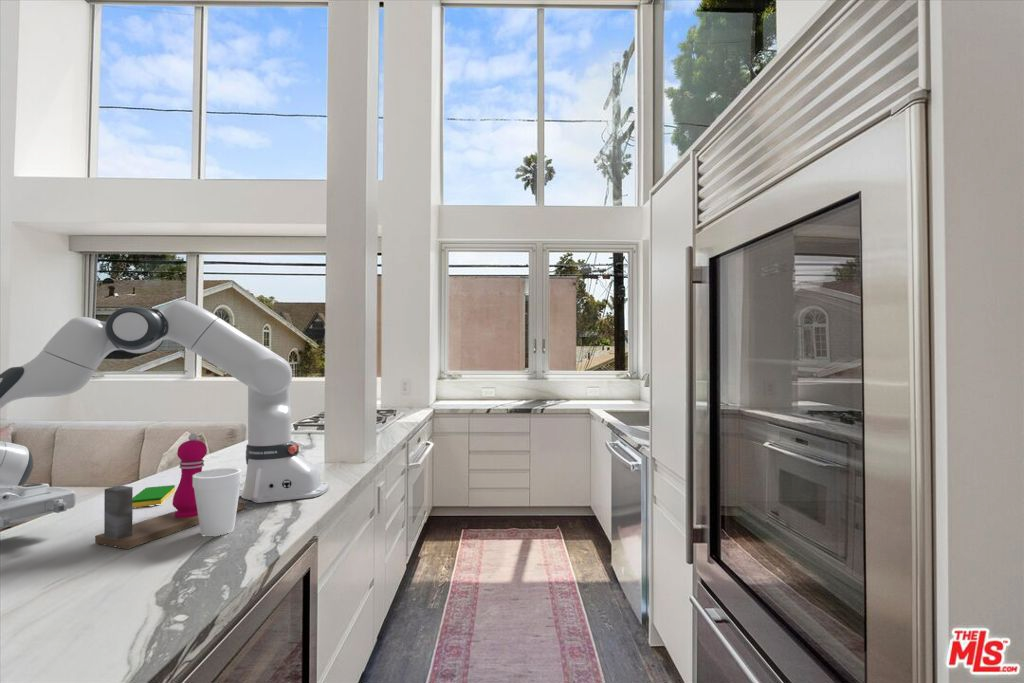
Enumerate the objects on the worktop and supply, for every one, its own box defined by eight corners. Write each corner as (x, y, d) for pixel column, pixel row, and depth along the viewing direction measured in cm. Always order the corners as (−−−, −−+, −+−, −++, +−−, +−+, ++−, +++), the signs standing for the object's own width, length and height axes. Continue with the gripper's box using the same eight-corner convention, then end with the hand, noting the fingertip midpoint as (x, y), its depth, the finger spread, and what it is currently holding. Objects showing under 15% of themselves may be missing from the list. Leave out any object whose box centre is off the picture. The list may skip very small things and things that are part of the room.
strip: (216, 504, 132) (216, 460, 132) (244, 508, 129) (244, 463, 129) (95, 542, 106) (95, 487, 106) (126, 549, 102) (126, 492, 103)
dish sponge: (175, 493, 145) (175, 484, 145) (160, 506, 132) (160, 497, 132) (145, 495, 143) (145, 487, 143) (128, 510, 130) (128, 500, 130)
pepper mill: (190, 524, 116) (193, 436, 117) (164, 522, 118) (167, 435, 118) (214, 515, 123) (217, 432, 124) (189, 513, 125) (192, 431, 126)
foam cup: (250, 527, 115) (250, 470, 115) (211, 542, 106) (211, 479, 106) (222, 522, 119) (222, 466, 119) (183, 535, 110) (183, 475, 110)
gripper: (-74, 507, 98) (-35, 514, 93) (53, 481, 117) (91, 486, 112) (-75, 539, 98) (-36, 549, 93) (53, 508, 117) (91, 515, 112)
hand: (35, 514), depth 103 cm, fingers open, 8 cm apart
